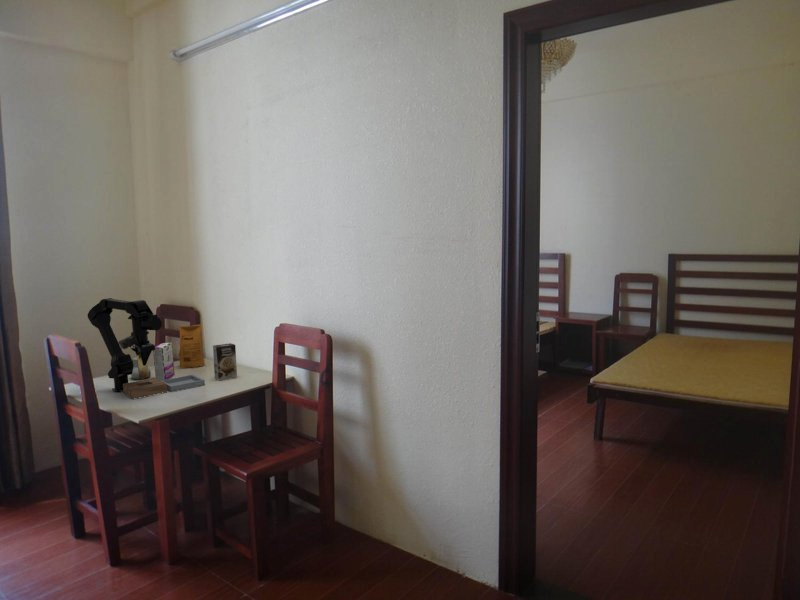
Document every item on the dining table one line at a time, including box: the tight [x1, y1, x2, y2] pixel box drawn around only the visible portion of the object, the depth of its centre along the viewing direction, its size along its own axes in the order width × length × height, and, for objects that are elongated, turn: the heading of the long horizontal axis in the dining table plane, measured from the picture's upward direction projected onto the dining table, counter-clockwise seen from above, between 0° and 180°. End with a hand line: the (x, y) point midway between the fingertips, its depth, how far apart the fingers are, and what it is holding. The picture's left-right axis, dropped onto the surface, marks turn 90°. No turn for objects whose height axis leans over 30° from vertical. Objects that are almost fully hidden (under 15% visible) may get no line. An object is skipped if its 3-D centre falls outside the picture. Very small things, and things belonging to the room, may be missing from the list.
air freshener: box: [130, 356, 152, 380], centre depth 268 cm, size 11×8×10 cm
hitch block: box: [122, 377, 168, 400], centre depth 242 cm, size 14×14×4 cm
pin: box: [136, 354, 150, 379], centre depth 241 cm, size 4×4×10 cm
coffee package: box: [178, 323, 205, 369], centre depth 289 cm, size 10×12×22 cm
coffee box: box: [212, 342, 238, 382], centre depth 263 cm, size 9×6×16 cm
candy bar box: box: [152, 342, 175, 380], centre depth 265 cm, size 11×5×16 cm, turn 0°
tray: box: [161, 374, 206, 393], centre depth 252 cm, size 14×15×2 cm
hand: (142, 364), depth 241 cm, fingers closed on pin, 4 cm apart
